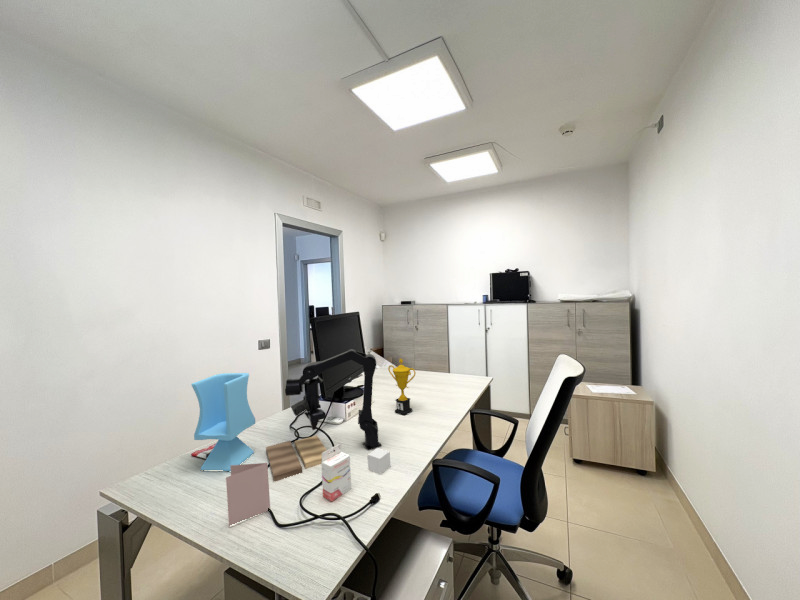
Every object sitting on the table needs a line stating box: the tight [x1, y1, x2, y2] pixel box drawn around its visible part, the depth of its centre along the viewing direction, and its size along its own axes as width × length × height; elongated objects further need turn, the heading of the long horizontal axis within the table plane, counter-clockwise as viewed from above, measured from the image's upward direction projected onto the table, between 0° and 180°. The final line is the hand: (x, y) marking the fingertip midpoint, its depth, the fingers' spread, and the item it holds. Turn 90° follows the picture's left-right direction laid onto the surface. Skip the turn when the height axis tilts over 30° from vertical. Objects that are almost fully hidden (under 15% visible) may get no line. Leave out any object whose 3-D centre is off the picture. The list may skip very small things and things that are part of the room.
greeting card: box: [225, 462, 271, 527], centre depth 93 cm, size 11×7×15 cm, turn 92°
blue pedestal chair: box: [191, 372, 256, 471], centre depth 126 cm, size 16×16×35 cm
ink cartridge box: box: [320, 443, 352, 502], centre depth 103 cm, size 9×5×15 cm, turn 141°
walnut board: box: [265, 440, 303, 482], centre depth 125 cm, size 26×10×2 cm, turn 29°
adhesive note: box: [367, 447, 391, 475], centre depth 116 cm, size 6×6×6 cm
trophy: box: [387, 358, 416, 416], centre depth 170 cm, size 19×10×30 cm, turn 51°
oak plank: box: [294, 435, 330, 469], centre depth 130 cm, size 22×10×2 cm, turn 29°
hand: (313, 429), depth 131 cm, fingers closed
